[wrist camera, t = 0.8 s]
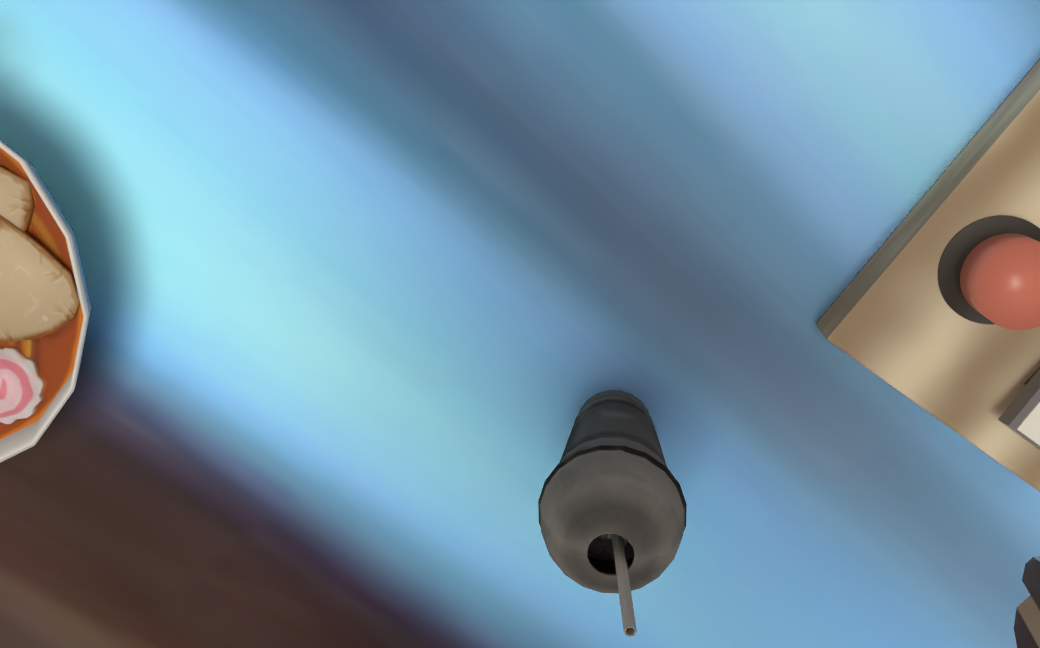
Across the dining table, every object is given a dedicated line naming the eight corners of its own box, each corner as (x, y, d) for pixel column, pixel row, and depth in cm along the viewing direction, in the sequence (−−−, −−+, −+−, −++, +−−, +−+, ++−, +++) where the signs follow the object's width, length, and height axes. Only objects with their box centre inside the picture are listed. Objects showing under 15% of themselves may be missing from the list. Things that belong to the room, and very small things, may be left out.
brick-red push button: (1070, 266, 47) (1093, 277, 45) (1008, 333, 49) (1027, 347, 46) (1002, 216, 47) (1021, 224, 45) (941, 284, 48) (957, 296, 46)
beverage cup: (614, 344, 55) (608, 496, 36) (700, 426, 56) (739, 617, 37) (529, 424, 57) (482, 608, 38) (614, 502, 58) (609, 721, 39)
